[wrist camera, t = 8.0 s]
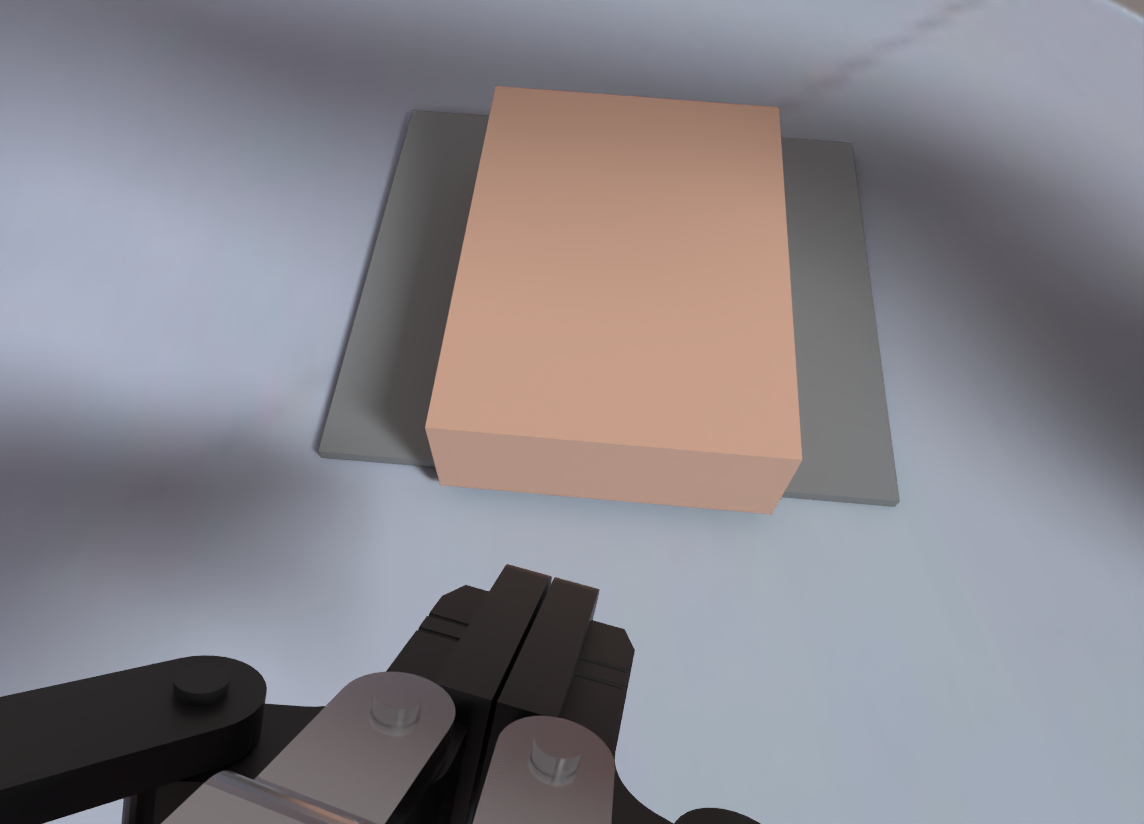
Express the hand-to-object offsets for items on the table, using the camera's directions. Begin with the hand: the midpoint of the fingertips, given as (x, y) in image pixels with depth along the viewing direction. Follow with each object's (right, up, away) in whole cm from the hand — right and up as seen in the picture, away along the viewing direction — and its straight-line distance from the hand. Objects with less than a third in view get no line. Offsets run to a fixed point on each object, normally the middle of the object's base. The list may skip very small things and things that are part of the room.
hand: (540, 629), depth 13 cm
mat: (+2, +8, +17) cm, 19 cm away
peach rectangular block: (+1, +2, +10) cm, 11 cm away
